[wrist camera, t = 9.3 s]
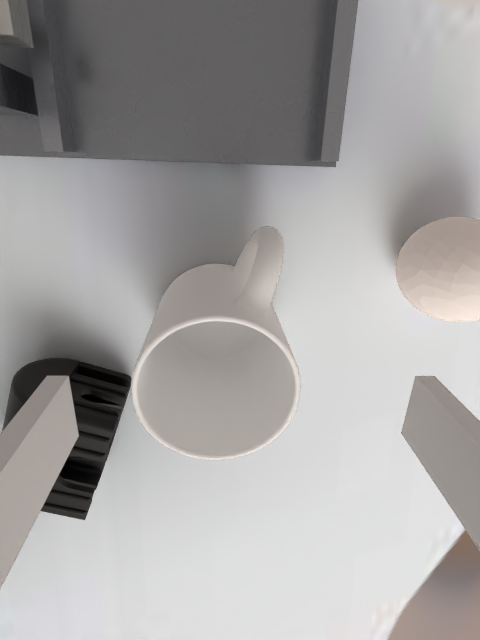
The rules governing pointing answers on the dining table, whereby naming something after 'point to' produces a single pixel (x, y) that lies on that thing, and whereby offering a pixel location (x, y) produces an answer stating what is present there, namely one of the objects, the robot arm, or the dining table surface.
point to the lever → (15, 24)
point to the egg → (443, 269)
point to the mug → (219, 358)
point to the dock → (180, 81)
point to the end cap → (92, 422)
